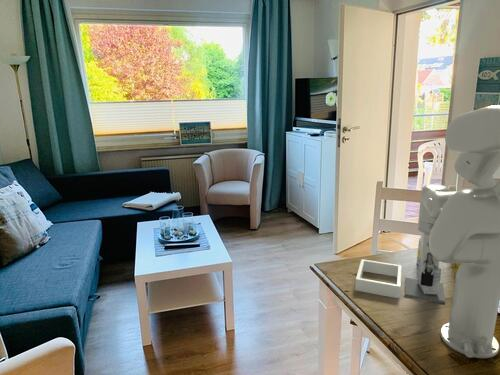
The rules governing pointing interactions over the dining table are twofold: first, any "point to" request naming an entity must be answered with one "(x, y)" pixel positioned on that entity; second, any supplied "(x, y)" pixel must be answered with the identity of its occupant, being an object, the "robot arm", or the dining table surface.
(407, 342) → the dining table surface
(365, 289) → the bin
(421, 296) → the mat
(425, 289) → the medicine box
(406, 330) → the dining table surface
